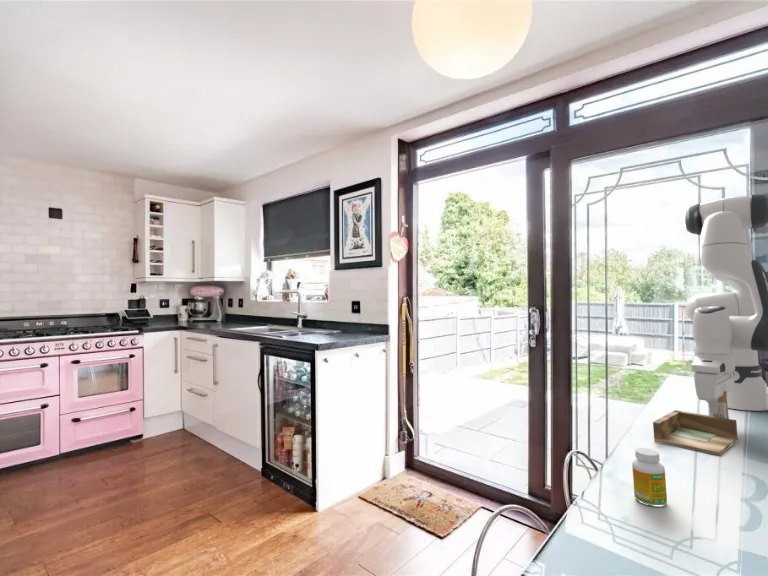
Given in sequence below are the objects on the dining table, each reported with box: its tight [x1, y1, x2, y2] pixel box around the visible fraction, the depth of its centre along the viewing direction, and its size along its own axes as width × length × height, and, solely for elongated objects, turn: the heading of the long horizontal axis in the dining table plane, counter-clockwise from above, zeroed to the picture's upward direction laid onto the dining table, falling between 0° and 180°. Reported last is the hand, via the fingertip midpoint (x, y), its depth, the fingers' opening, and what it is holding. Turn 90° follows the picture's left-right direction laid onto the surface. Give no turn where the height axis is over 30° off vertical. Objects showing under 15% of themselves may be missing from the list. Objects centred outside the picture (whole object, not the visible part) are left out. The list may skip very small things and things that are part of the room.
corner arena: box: [652, 410, 739, 456], centre depth 108 cm, size 16×14×5 cm
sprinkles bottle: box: [707, 384, 730, 419], centre depth 114 cm, size 5×5×14 cm
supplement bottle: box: [631, 447, 668, 506], centre depth 79 cm, size 5×5×10 cm
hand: (718, 410), depth 114 cm, fingers closed on sprinkles bottle, 4 cm apart
